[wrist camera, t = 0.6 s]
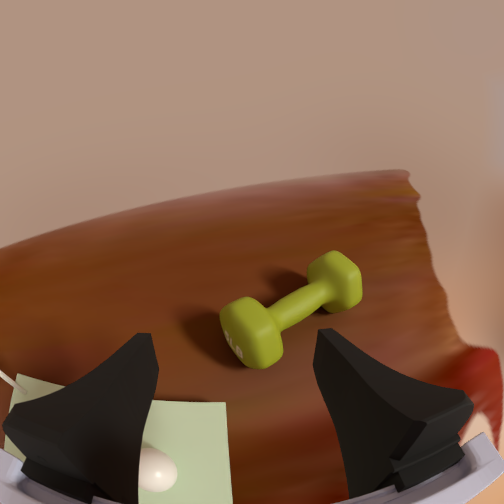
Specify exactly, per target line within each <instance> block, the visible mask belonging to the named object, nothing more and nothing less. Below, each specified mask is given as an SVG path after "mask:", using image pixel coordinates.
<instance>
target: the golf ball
mask: <svg viewBox="0 0 504 504" xmlns="http://www.w3.org/2000/svg"><path fill="white" fill-rule="evenodd" d="M177 474H178V473H177V467H176V465H175V463H174V461H173V460H172V459H171V458H170V457H169V456H168V455H167V454H166V453H164V452H162V451H160V450H158V449H154V448H143V449H141V453H140V464H139V483H138V487H140V488H141V489H143V490H146V491H149V492H163V491H166V490H168V489H169V488H171V487H172V486H173V485H174V484H175V482H176V480H177Z"/></svg>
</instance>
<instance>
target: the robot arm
mask: <svg viewBox="0 0 504 504" xmlns="http://www.w3.org/2000/svg"><path fill="white" fill-rule="evenodd" d="M313 368H314V372H315V376H316V380H317V384H318V386H319V389H320V391H321V394H322V396H323V399H324V401H325V403H326V406H327V408H328V411H329V413H330V415H331V418H332V420H333V423H334V426H335V429H336V432H337V436H338V440H339V444H340V448H341V452H342V457H343V461H344V466H345V472H346V477H347V484H348V491H349V500H346V501H342V502H338V503H334V504H465V503H466V502H468V501H469V500H471V499H472V498H473V497H475V496H476V495H478V494H479V493H480V492H481V491H483V490H484V489H485V488H486V487H488V486H489V485H490V484H491V483H493V482H494V481H495V480H496V479H497V478H498V477H499V476H500V475H502V474H503V473H504V460H503V459H502V457H501V456H500V454H499V453H498V451H497V450H496V448H495V447H494V446H493V444H492V443H491V441H490V440H489V439H488V437H487V436H486V434H485V433H484V432H482V433H480V434H479V435H477V436H476V437H474V438H473V439H471V440H470V441H468V442H466V443H465V444H464V445H463V446H461V447H460V446H459V444H458V442H459V441H460V437H459V435H458V434H457V433H458V432H459V431H460V429H461V428H462V427H463V425H464V424H465V423H466V421H467V420H468V418H469V417H470V415H471V414H472V411H473V408H474V403H473V402H472V401H471V400H470V399H469V397H468V396H467V395H466V394H465V392H464V391H463V390H457V389H451V388H445V387H440V386H436V385H432V384H428V383H425V382H422V381H419V380H416V379H413V378H411V377H408V376H406V375H403V374H401V373H399V372H397V371H395V370H393V369H391V368H389V367H387V366H385V365H383V364H382V363H380V362H378V361H377V360H375V359H374V358H372V357H370V356H369V355H367V354H366V353H364V352H363V351H362V350H360V349H359V348H357V347H356V346H355V345H353V344H352V343H351V342H349V341H348V340H347V339H345V338H344V337H343V336H341V335H340V334H339V333H338V332H336V331H335V330H333V329H332V328H329V329H318V335H317V342H316V348H315V354H314V360H313ZM158 372H159V367H158V363H157V359H156V355H155V350H154V346H153V342H152V337H151V333H137V334H136V335H135V336H133V337H132V338H131V339H130V340H129V341H128V342H127V343H125V344H124V345H123V346H122V347H121V348H120V349H119V350H117V351H116V352H115V353H114V354H113V355H112V356H111V357H109V358H108V359H107V360H106V361H104V362H103V363H102V364H100V365H99V366H98V367H97V368H95V369H94V370H93V371H91V372H90V373H88V374H87V375H85V376H84V377H82V378H80V379H79V380H77V381H75V382H74V383H72V384H70V385H68V386H66V387H64V388H62V389H60V390H58V391H55V392H53V393H50V394H48V395H45V396H42V397H40V398H36V399H33V400H29V401H25V402H21V403H16V404H14V406H13V408H12V409H11V411H10V413H9V414H8V416H7V417H6V419H5V421H4V422H3V424H2V426H3V430H4V432H5V434H6V435H7V437H8V438H9V439H10V440H11V441H12V443H13V444H14V445H15V446H16V447H17V448H18V449H19V450H20V451H21V452H22V454H23V455H24V456H25V457H26V459H25V461H24V462H23V461H21V460H20V459H19V458H17V457H15V456H14V455H12V454H10V453H8V452H7V451H5V450H3V449H2V448H0V503H1V504H139V496H138V483H139V464H140V453H141V445H142V438H143V432H144V428H145V424H146V420H147V417H148V413H149V410H150V407H151V403H152V400H153V397H154V393H155V390H156V385H157V379H158Z"/></svg>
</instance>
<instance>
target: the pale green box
mask: <svg viewBox="0 0 504 504" xmlns="http://www.w3.org/2000/svg"><path fill="white" fill-rule="evenodd" d="M0 377H1V378H3V379H4V380H5V381H6V382H8V383H9V384H10V385H12V386H13V387H14V390H13V394H12V399H11V404H10V409H9V413H10V411H11V409H12V408H13V406H14V404H16V403H21V402H25V401H29V400H33V399H36V398H40V397H42V396H45V395H48V394H50V393H53V392H55V391H58V390H60V389H62V388H64V387H65V386H61V385H57V384H53V383H49V382H45V381H42V380H38V379H34V378H31V377H28V376H25V375H21V374H18V373H17V377H16V381H15V382H14V381H13V380H12V379H11V378H9V377H8V376H7V375H6V374H4V373H3V372H2V371H1V370H0ZM143 448H154V449H158V450H160V451H162V452H164V453H166V454H167V455H168V456H169V457H170V458H171V459H172V460H173V461H174V463H175V465H176V467H177V473H178V474H177V480H176V482H175V484H174V485H173V486H172V487H171V488H169V489H168V490H166V491H163V492H149V491H146V490H143V489H141V488H140V487H138V496H139V504H233V500H232V489H231V477H230V464H229V450H228V435H227V418H226V403H225V402H176V401H159V400H152V403H151V407H150V410H149V413H148V417H147V420H146V424H145V428H144V432H143V438H142V445H141V449H143ZM4 450H5V451H7V452H8V453H10V454H12V455H14V456H15V457H17V458H19V459H20V460H21V461H23V462H24V461H25V459H26V457H25V456H24V455H23V454H22V452H21V451H20V450H19V449H18V448H17V447H16V446H15V445H14V444H13V443H12V441H11V440H10V439H9V438H8V437H7V435H6V436H5V445H4Z"/></svg>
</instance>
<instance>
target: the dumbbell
mask: <svg viewBox="0 0 504 504" xmlns="http://www.w3.org/2000/svg"><path fill="white" fill-rule="evenodd" d="M307 281H308V285H306V286H304V287H301V288H299V289H298V290H296V291H294V292H292V293H290V294H289V295H287V296H285V297H283V298H282V299H280V300H279V301H277V302H276V303H274V304H273V305H272V306H270V307H268V308H265V307H264V306H263V305H261V304H260V303H259V302H258V301H256V300H255V299H253V298H251V297H243V298H240V299H238V300H235V301H233V302H231V303H229V304H228V305H226V306H225V307H224V308H223V309H222V310H221V311H220V323H221V326H222V329H223V332H224V335H225V338H226V340H227V342H228V344H229V346H230V348H231V349H232V350H233V352H234V353H235V354H236V356H237V357H238V358H239V359H240V361H241V362H242V363H243V364H244V365H246V366H247V367H249V368H252V369H265V368H267V367H269V366H271V365H272V364H274V363H275V362H277V361H278V360H279V359H280V358H281V356H282V354H283V344H282V339H281V335H280V333H281V331H283V330H284V329H287V328H289V327H291V326H293V325H294V324H296V323H298V322H299V321H301V320H303V319H304V318H306V317H307V316H309V315H310V314H311V313H313V312H314V311H315V310H317V309H318V308H319V307H320V306H322V307H323V308H324V309H325V310H327V311H328V312H330V313H338V312H342V311H345V310H348V309H350V308H352V307H354V306H355V305H356V304H357V303H359V302H360V300H361V298H362V280H361V273H360V270H359V268H358V267H357V266H356V265H355V264H354V263H353V262H352V261H350V260H349V259H348V258H347V257H345V256H344V255H343V254H341V253H340V252H338V251H330V252H328V253H326V254H324V255H322V256H320V257H319V258H317V259H316V260H314V261H313V262H312V263H310V264H309V266H308V268H307Z"/></svg>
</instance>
